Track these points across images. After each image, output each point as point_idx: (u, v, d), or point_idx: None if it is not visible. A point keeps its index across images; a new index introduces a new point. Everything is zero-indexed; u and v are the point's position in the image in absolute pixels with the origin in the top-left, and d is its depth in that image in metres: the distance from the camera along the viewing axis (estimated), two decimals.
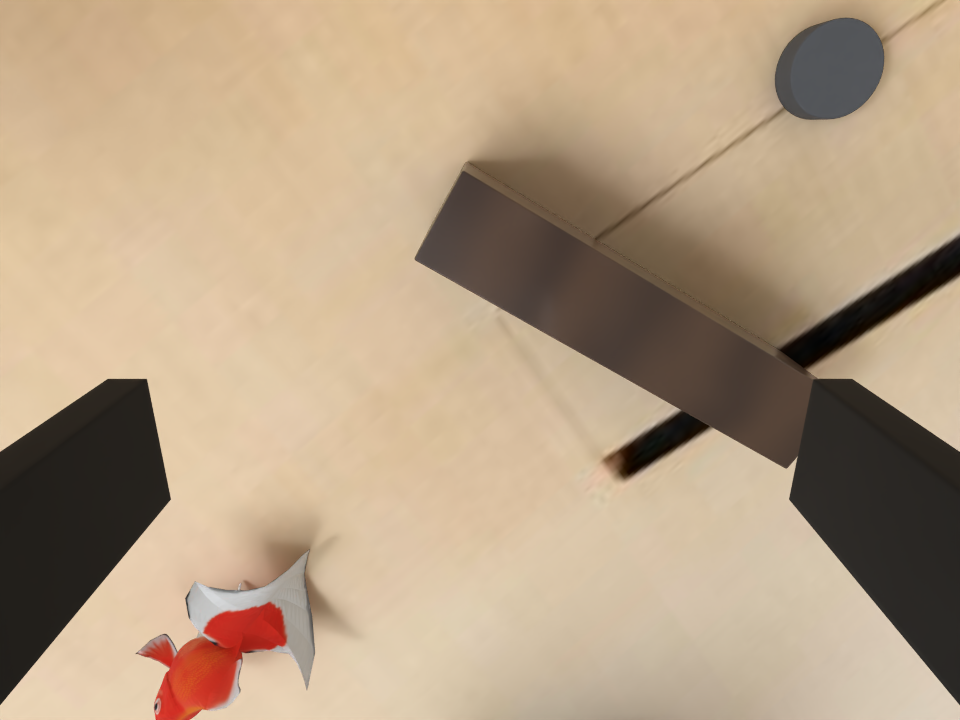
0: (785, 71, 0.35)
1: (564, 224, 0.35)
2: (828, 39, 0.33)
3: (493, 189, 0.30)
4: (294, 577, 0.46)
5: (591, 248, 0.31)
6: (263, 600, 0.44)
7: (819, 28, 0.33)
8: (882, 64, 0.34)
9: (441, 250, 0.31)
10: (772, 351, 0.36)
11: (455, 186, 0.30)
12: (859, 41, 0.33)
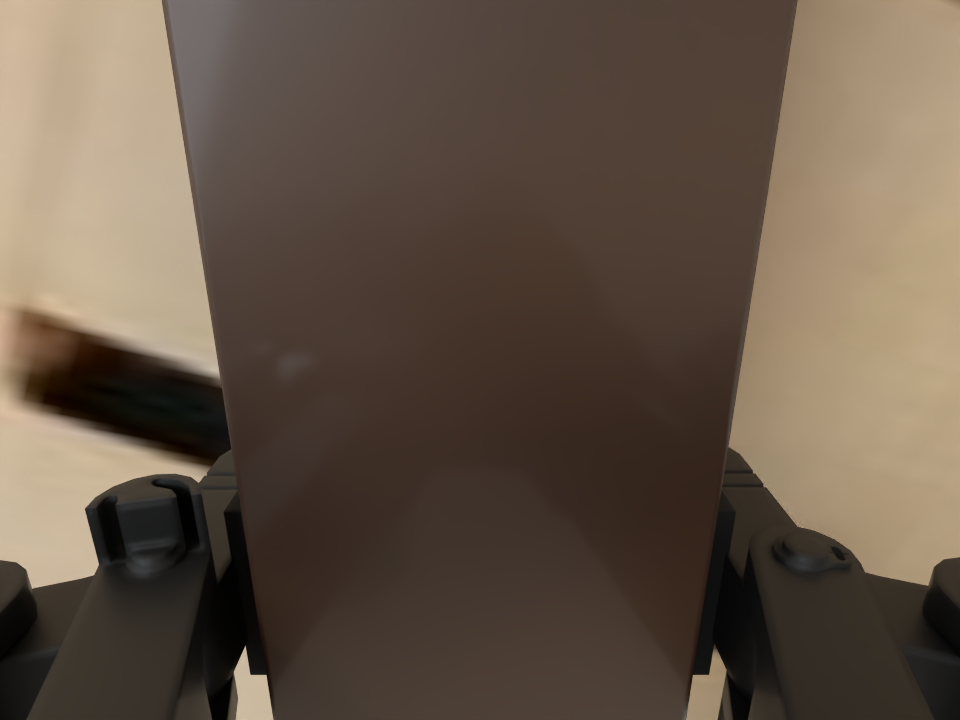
0: None
1: None
2: None
3: None
4: None
5: None
6: None
7: None
8: None
9: None
10: None
11: None
12: None
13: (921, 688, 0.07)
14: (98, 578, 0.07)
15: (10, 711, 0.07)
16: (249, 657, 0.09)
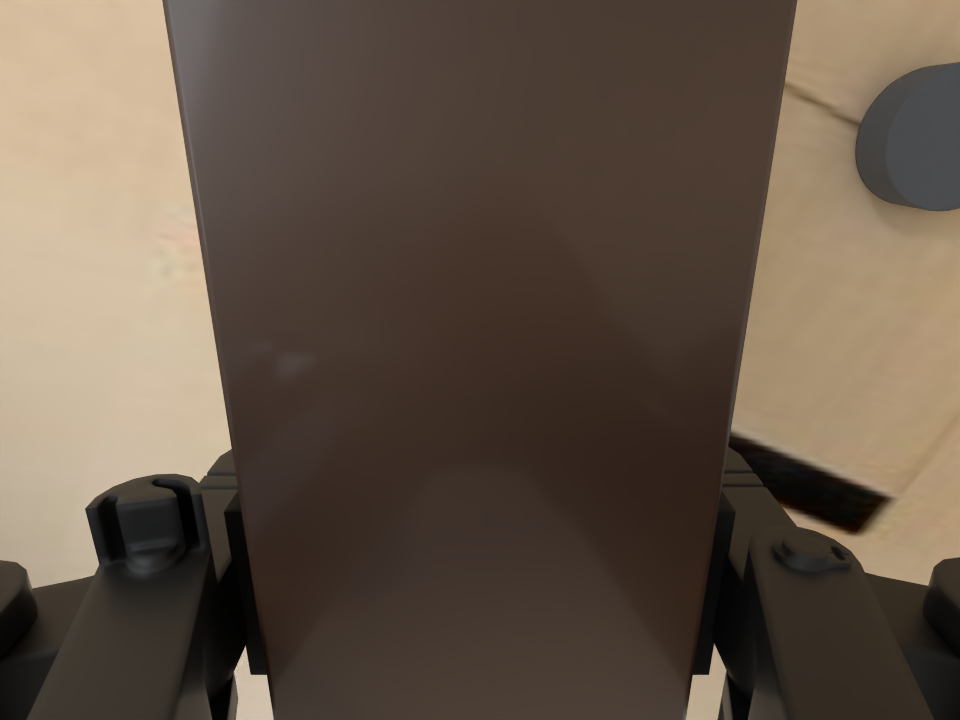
0: (924, 73, 0.22)
1: None
2: None
3: None
4: None
5: None
6: None
7: None
8: None
9: None
10: None
11: None
12: None
13: (921, 688, 0.07)
14: (99, 578, 0.07)
15: (10, 711, 0.07)
16: (249, 657, 0.09)
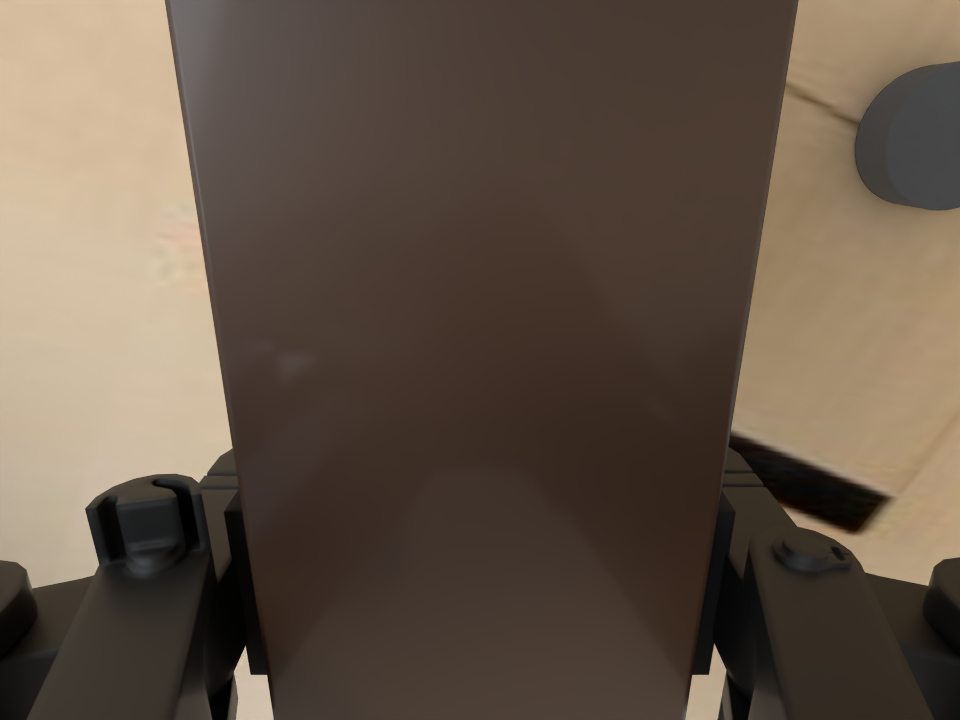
0: (924, 73, 0.22)
1: None
2: None
3: None
4: None
5: None
6: None
7: None
8: None
9: None
10: None
11: None
12: None
13: (921, 688, 0.07)
14: (98, 578, 0.07)
15: (10, 711, 0.07)
16: (249, 657, 0.09)
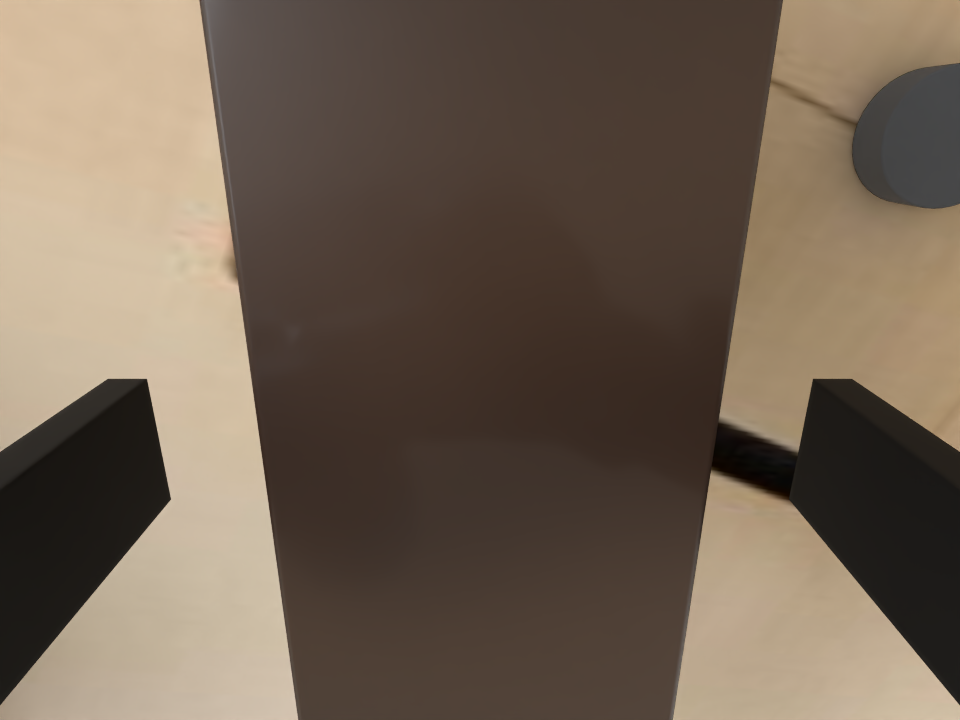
0: (919, 74, 0.23)
1: None
2: None
3: None
4: None
5: None
6: None
7: None
8: None
9: None
10: None
11: None
12: None
13: None
14: None
15: None
16: None
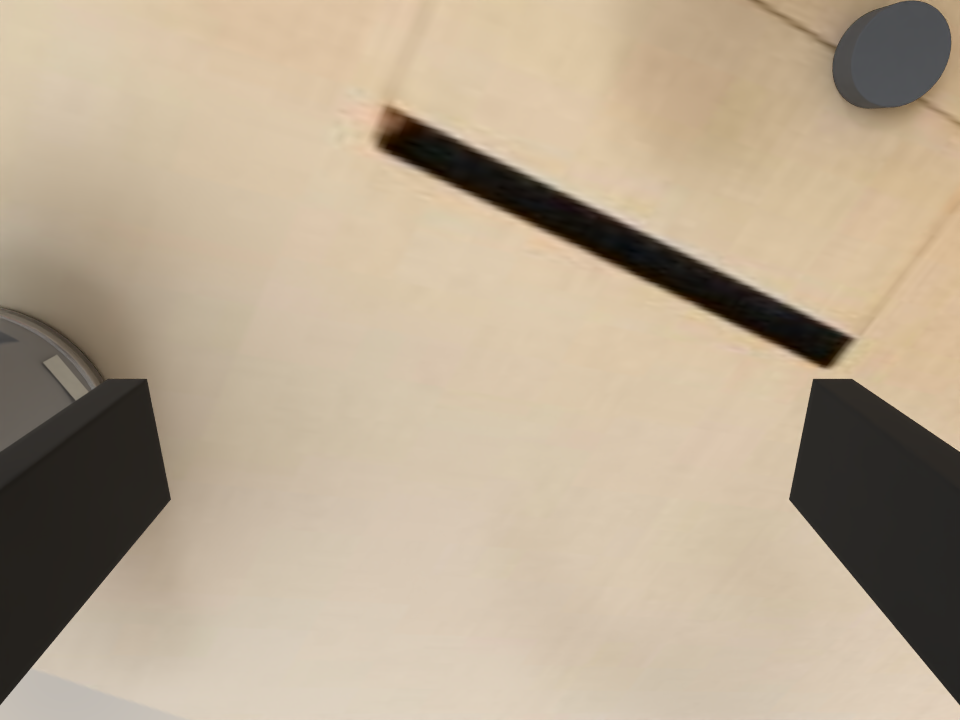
0: (879, 9, 0.32)
1: None
2: (925, 25, 0.32)
3: None
4: None
5: None
6: None
7: (933, 8, 0.32)
8: (918, 96, 0.33)
9: None
10: None
11: None
12: (932, 58, 0.32)
13: None
14: None
15: None
16: None
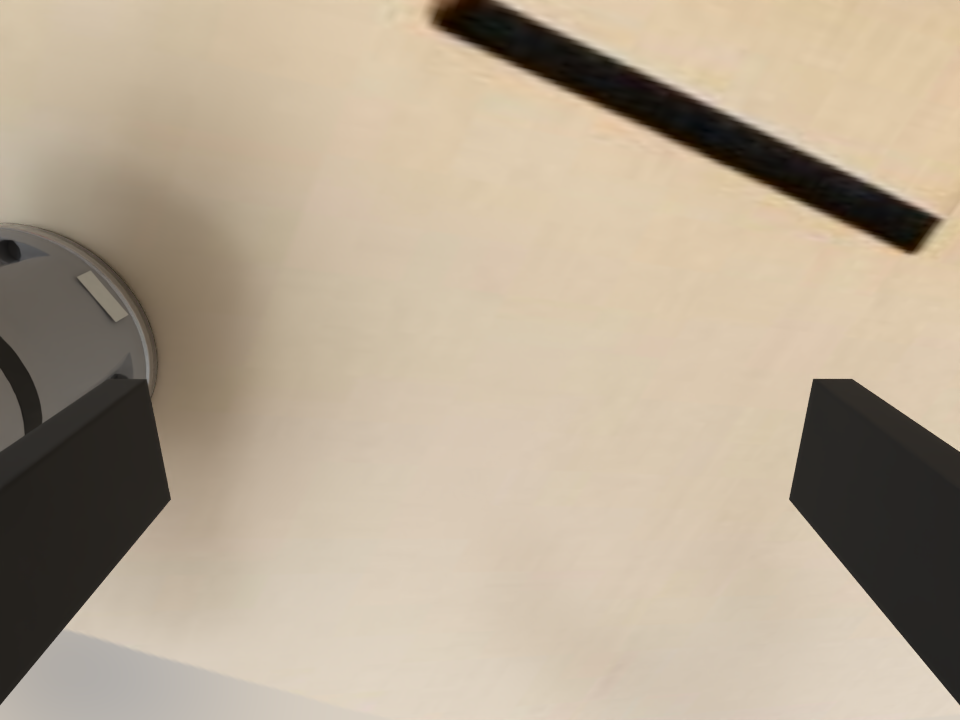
0: None
1: None
2: None
3: None
4: None
5: None
6: None
7: None
8: None
9: None
10: None
11: None
12: None
13: None
14: None
15: None
16: None
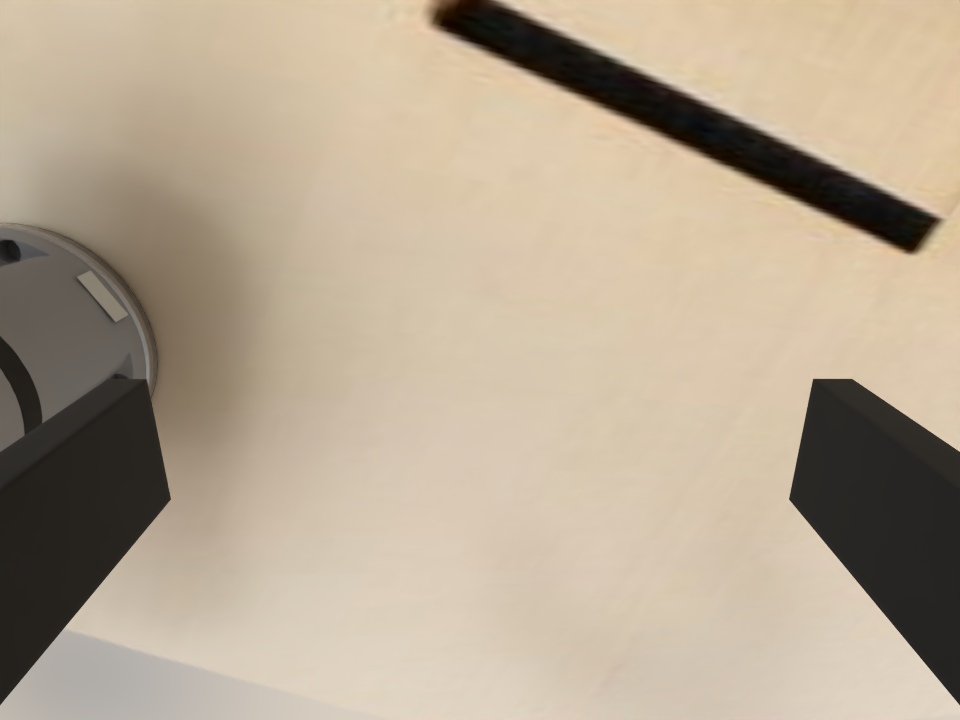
0: None
1: None
2: None
3: None
4: None
5: None
6: None
7: None
8: None
9: None
10: None
11: None
12: None
13: None
14: None
15: None
16: None
